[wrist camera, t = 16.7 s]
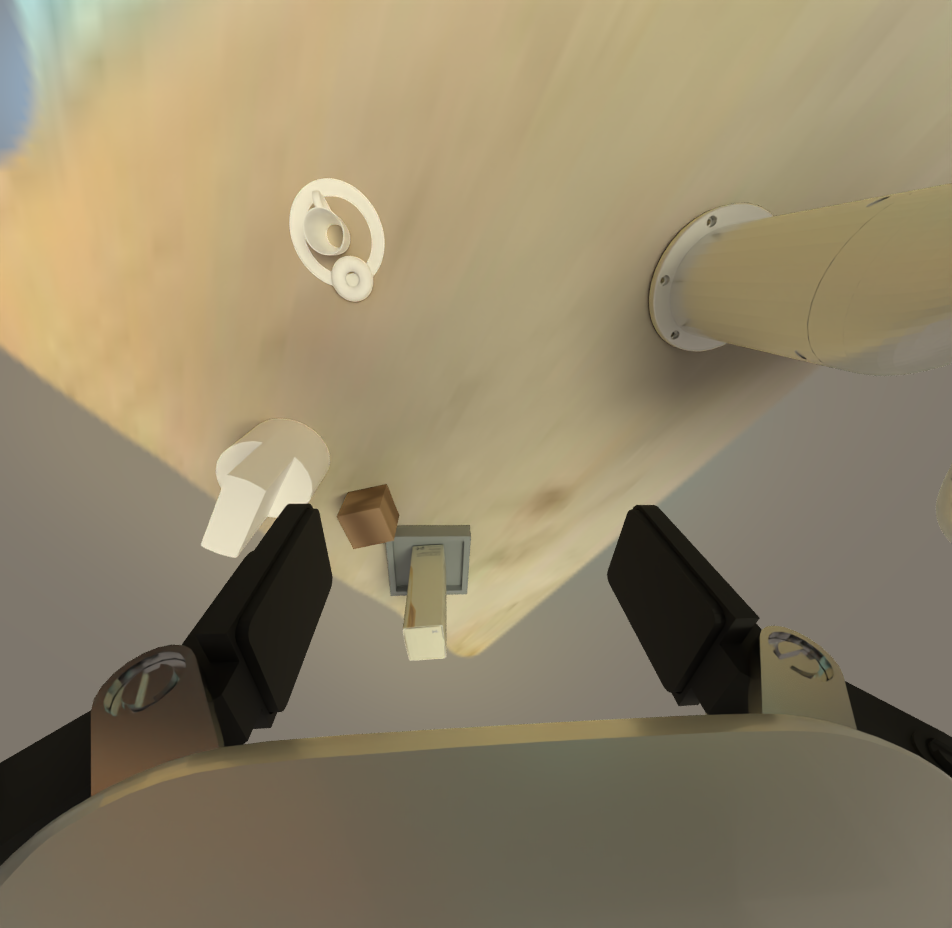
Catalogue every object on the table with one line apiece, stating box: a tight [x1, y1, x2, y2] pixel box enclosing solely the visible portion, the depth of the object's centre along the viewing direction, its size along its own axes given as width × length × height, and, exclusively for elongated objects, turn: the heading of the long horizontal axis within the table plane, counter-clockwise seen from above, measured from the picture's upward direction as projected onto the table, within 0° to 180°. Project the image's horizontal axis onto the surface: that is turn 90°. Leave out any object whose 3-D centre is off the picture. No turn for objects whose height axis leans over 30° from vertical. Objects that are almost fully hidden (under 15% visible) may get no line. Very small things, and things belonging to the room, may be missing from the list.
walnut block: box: [337, 484, 399, 549], centre depth 41 cm, size 5×5×5 cm
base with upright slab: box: [201, 418, 330, 557], centre depth 34 cm, size 9×9×12 cm
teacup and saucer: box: [289, 178, 385, 302], centre depth 28 cm, size 9×8×4 cm
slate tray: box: [386, 526, 471, 596], centre depth 47 cm, size 11×11×2 cm
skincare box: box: [403, 545, 446, 661], centre depth 42 cm, size 6×4×12 cm
